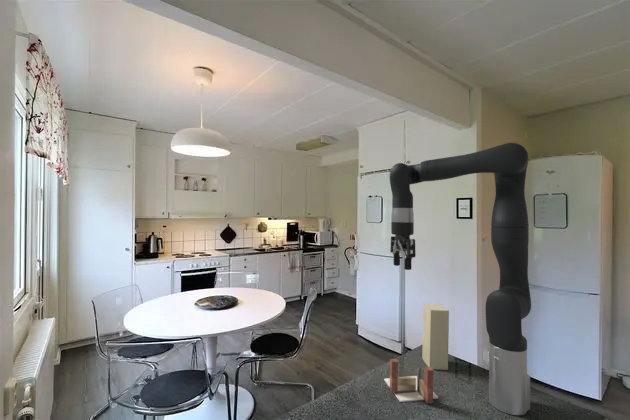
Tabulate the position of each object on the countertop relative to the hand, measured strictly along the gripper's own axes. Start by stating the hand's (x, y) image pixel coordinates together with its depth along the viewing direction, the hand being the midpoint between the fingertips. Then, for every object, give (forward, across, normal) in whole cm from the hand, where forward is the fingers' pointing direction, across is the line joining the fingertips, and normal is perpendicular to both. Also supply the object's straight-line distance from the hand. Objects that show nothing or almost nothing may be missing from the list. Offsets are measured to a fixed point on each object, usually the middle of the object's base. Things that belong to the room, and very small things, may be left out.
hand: (402, 267), depth 105 cm
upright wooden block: (+36, +3, -15) cm, 39 cm away
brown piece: (+36, -15, 0) cm, 39 cm away
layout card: (+36, -10, +2) cm, 38 cm away
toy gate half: (+35, -12, +5) cm, 37 cm away
